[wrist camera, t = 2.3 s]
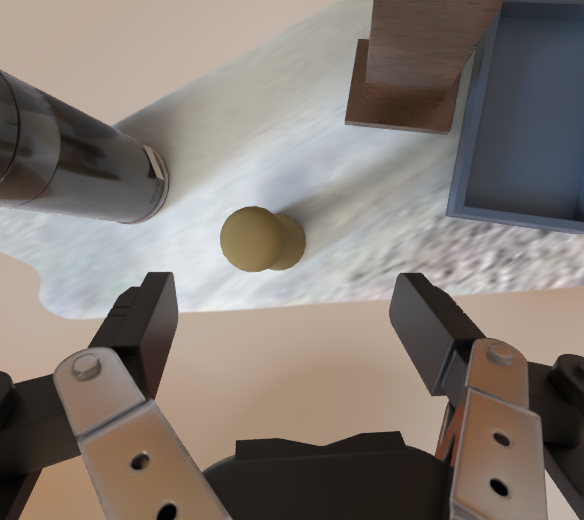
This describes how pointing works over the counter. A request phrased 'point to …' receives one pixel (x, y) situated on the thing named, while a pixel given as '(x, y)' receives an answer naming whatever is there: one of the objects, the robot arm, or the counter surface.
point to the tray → (525, 121)
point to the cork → (261, 240)
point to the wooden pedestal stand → (415, 62)
